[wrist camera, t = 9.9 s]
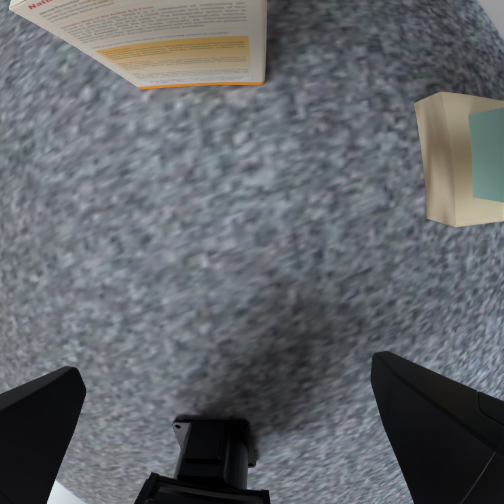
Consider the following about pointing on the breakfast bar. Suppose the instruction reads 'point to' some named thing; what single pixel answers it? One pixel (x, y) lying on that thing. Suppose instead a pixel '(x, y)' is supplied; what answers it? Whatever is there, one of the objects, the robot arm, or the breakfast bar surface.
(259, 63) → the supplement box
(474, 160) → the teal cube
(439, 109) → the beech block
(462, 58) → the breakfast bar surface
